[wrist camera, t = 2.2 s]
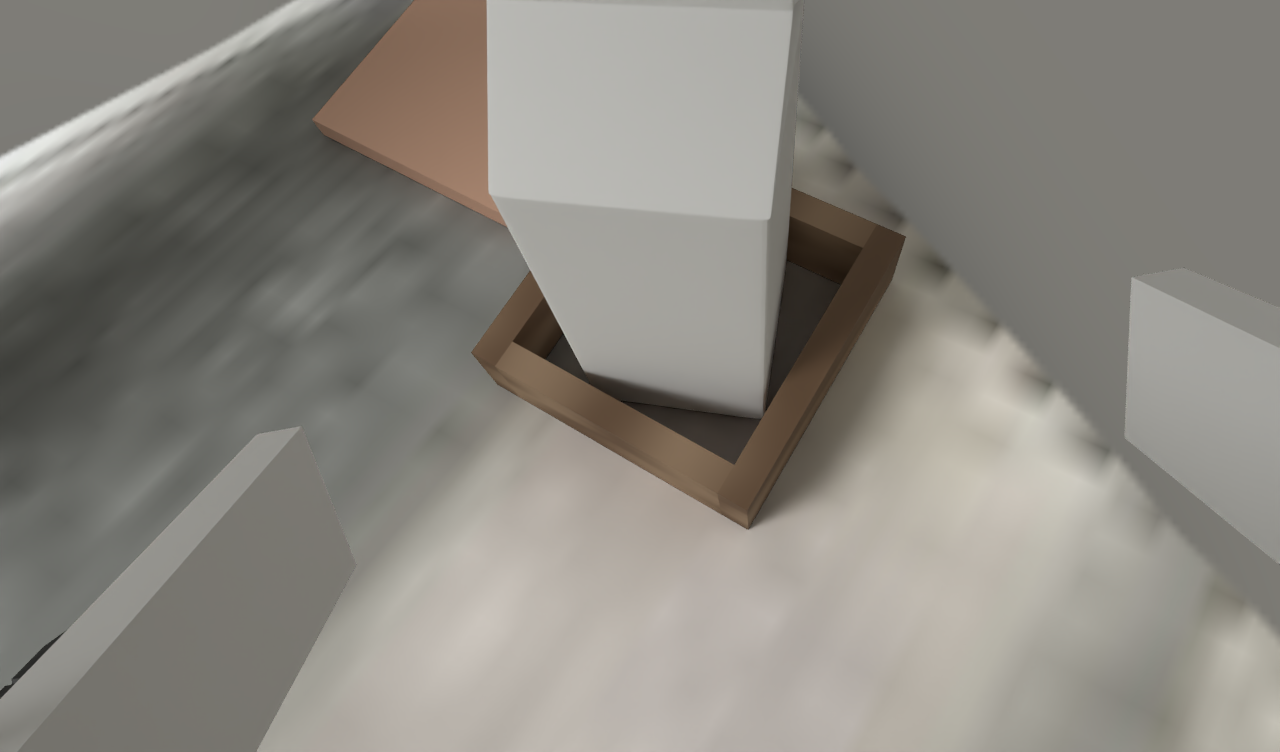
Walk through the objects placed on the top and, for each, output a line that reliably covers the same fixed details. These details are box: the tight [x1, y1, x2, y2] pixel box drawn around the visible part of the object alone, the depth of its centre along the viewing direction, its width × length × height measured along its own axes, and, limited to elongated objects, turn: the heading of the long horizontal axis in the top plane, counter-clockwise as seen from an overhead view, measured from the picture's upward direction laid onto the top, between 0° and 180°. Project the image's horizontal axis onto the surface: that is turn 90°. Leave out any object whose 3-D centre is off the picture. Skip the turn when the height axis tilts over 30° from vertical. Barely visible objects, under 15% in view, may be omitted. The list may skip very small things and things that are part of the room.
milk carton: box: [487, 0, 804, 419], centre depth 26 cm, size 7×7×19 cm
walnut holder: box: [471, 188, 906, 529], centre depth 33 cm, size 12×12×4 cm
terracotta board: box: [312, 0, 507, 227], centre depth 41 cm, size 13×13×1 cm
